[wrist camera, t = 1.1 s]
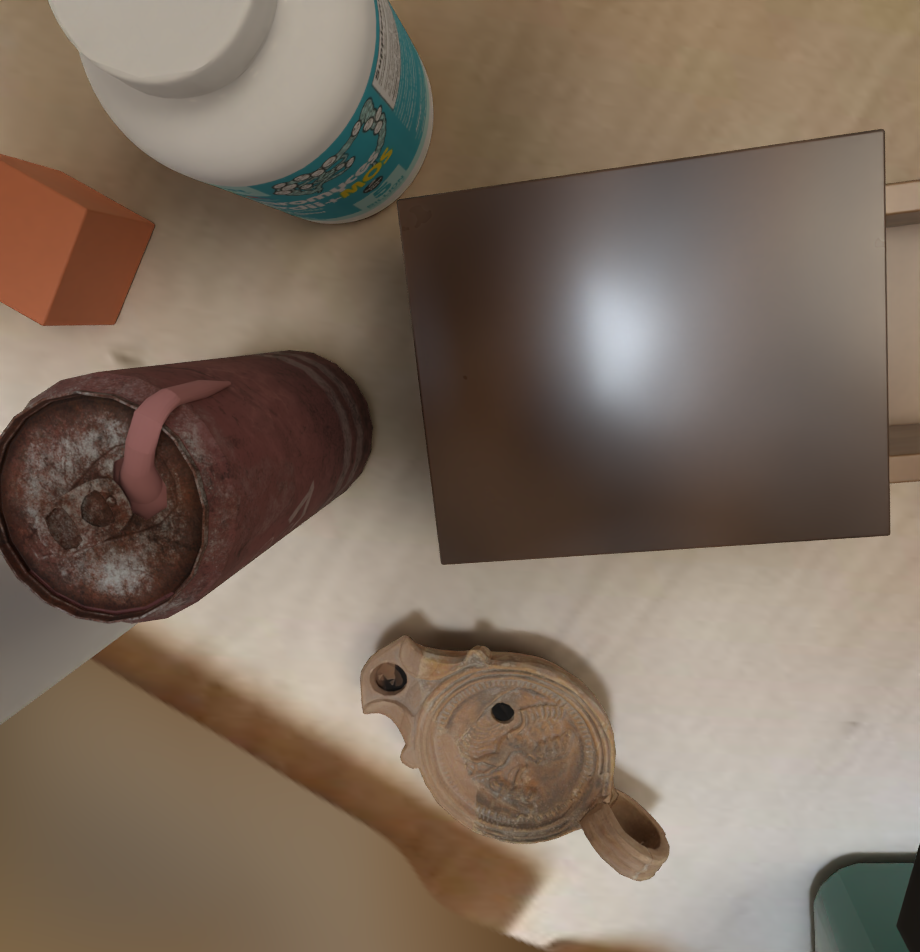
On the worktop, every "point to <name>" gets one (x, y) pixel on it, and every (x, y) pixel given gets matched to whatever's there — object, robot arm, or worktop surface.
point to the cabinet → (656, 353)
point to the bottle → (41, 643)
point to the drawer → (903, 328)
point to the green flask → (861, 908)
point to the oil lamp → (512, 748)
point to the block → (64, 247)
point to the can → (172, 477)
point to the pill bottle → (264, 95)
